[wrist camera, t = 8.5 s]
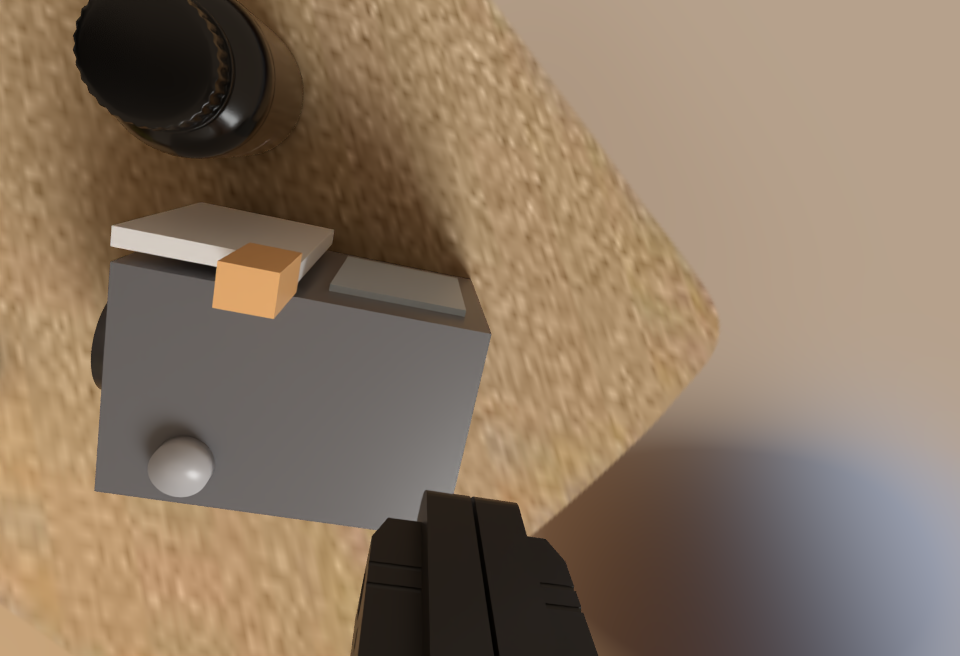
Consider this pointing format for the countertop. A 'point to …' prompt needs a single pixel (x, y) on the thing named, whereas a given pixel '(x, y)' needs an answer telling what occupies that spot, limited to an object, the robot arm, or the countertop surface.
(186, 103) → the supplement bottle
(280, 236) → the door
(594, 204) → the countertop surface
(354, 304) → the box
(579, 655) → the robot arm
